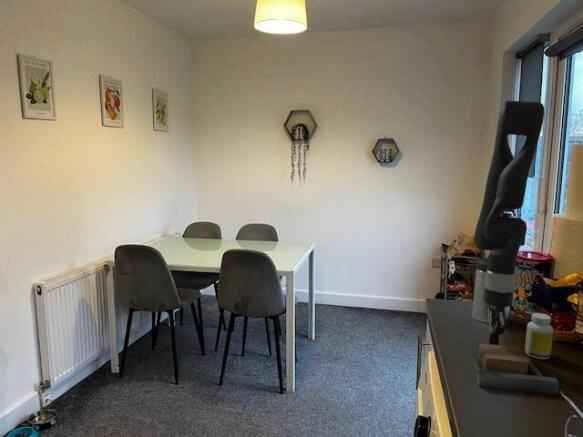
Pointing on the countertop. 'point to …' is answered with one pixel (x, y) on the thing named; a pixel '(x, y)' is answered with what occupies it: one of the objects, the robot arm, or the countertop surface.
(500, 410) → the countertop surface
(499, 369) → the slab
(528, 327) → the pill bottle
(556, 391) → the dark grey tray
